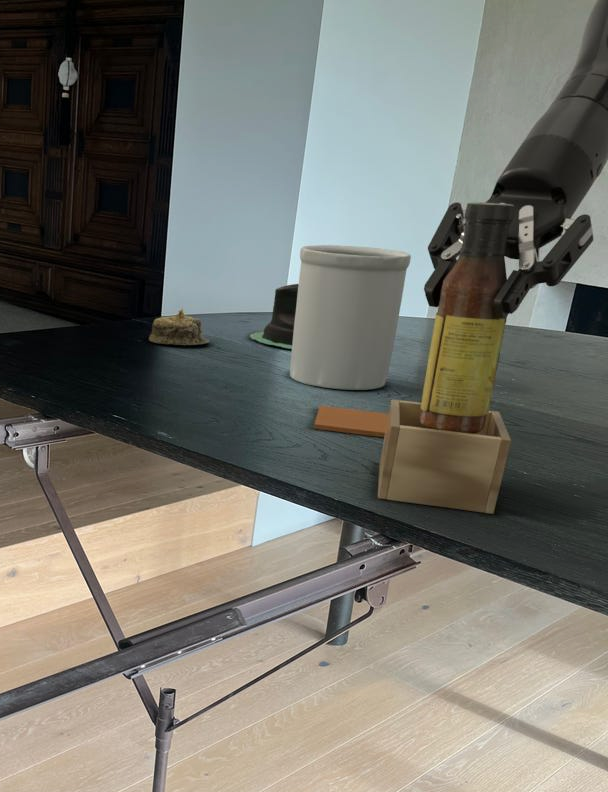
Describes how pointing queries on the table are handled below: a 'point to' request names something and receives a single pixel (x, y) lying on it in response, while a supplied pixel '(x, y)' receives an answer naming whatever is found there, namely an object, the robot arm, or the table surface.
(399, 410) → the box
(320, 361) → the utensil holder
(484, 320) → the sauce bottle
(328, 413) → the cork mat
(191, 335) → the cake
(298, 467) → the table surface
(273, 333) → the chocolate cake
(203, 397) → the table surface
